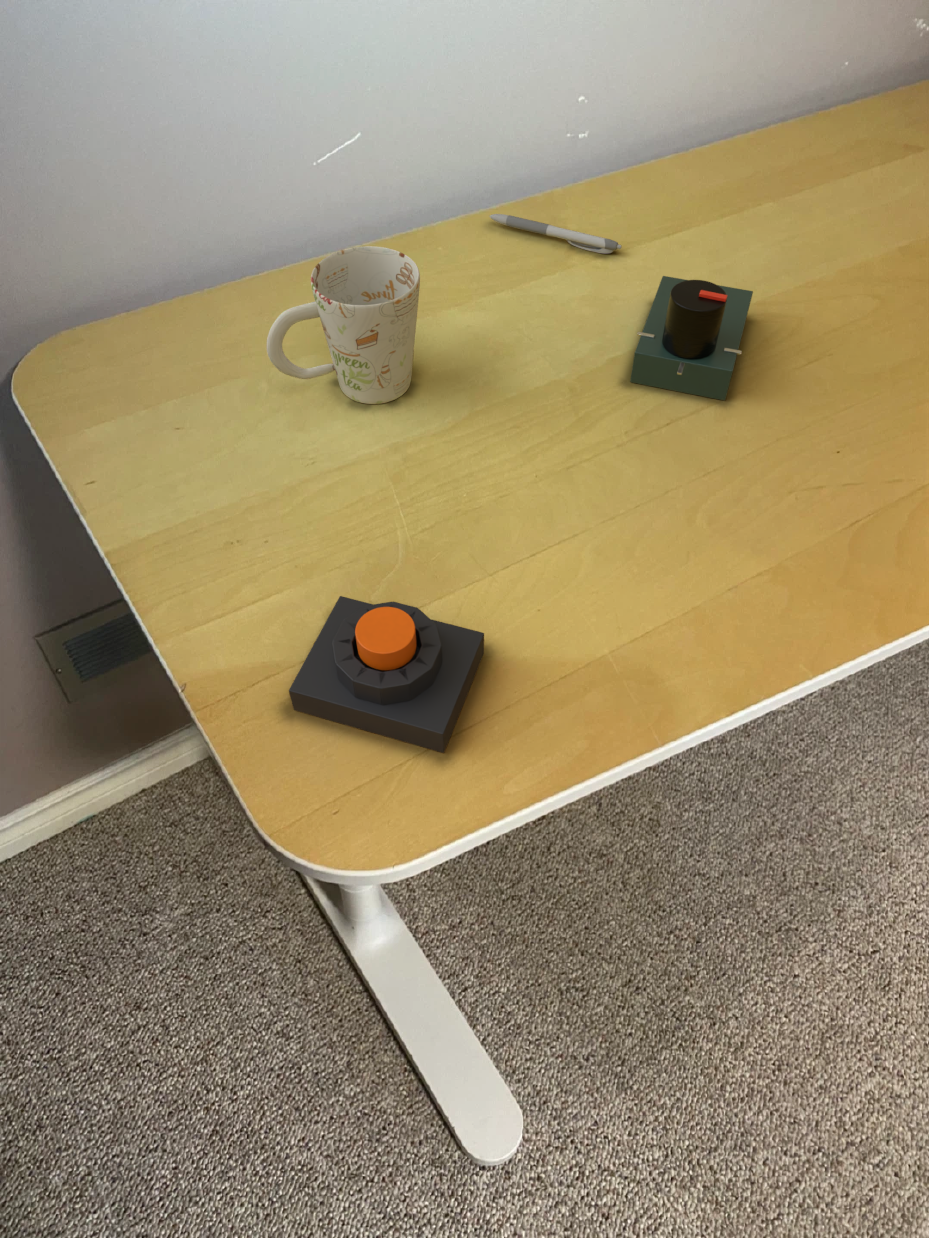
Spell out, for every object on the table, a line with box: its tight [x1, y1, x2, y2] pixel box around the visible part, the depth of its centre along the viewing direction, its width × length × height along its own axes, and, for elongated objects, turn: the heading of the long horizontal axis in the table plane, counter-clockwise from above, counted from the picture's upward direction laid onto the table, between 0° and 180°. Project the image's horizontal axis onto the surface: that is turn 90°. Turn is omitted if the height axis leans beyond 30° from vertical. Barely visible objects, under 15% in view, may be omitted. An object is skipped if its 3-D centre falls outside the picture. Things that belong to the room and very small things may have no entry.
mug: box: [266, 245, 421, 405], centre depth 77 cm, size 8×13×10 cm, turn 112°
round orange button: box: [355, 607, 416, 670], centre depth 58 cm, size 4×4×2 cm
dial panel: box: [629, 275, 754, 401], centre depth 82 cm, size 14×9×3 cm, turn 162°
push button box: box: [288, 595, 485, 754], centre depth 60 cm, size 10×8×4 cm
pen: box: [488, 213, 622, 254], centre depth 95 cm, size 1×14×1 cm, turn 64°
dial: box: [662, 279, 727, 359], centre depth 77 cm, size 4×4×5 cm
